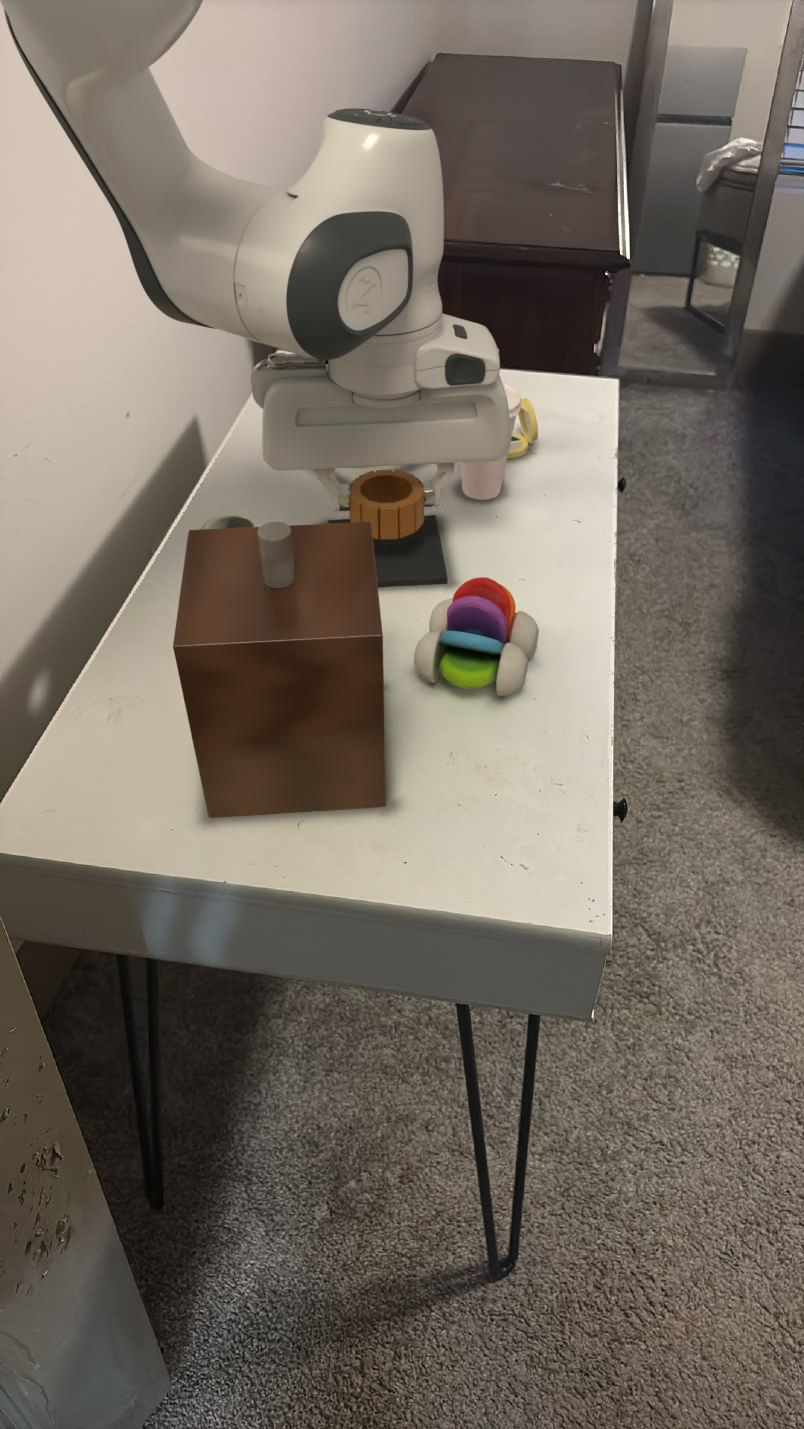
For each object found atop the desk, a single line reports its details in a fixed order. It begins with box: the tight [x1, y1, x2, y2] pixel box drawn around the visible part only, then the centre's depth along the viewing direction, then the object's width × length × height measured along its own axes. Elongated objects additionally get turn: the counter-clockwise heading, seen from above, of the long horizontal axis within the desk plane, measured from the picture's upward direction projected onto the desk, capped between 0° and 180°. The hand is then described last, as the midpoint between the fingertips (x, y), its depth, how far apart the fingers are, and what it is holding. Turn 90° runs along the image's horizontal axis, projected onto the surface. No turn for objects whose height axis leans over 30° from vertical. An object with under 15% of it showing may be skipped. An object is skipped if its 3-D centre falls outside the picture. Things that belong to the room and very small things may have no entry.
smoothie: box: [459, 348, 522, 501], centre depth 93 cm, size 6×6×14 cm
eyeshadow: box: [507, 397, 539, 459], centre depth 102 cm, size 4×5×5 cm
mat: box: [327, 514, 448, 588], centre depth 89 cm, size 10×10×1 cm
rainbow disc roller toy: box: [413, 576, 540, 696], centre depth 76 cm, size 8×10×7 cm
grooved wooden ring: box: [349, 469, 425, 540], centre depth 86 cm, size 6×6×3 cm
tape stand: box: [172, 521, 387, 818], centre depth 65 cm, size 12×12×18 cm
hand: (387, 505), depth 86 cm, fingers closed on grooved wooden ring, 6 cm apart
